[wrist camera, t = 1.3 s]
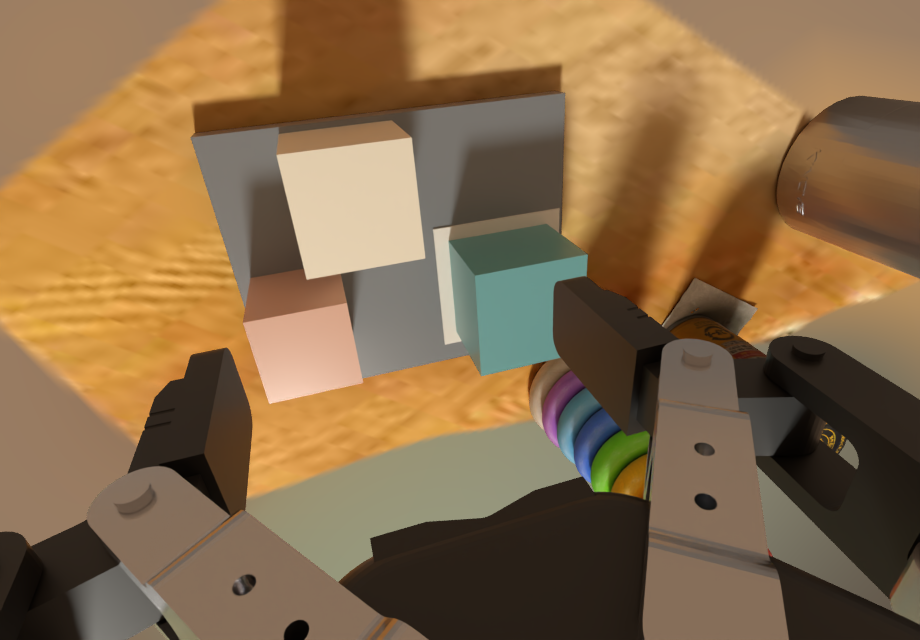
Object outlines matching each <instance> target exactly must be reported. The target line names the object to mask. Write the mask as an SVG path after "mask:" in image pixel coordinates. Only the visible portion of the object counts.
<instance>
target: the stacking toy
mask: <svg viewBox="0 0 920 640" xmlns="http://www.w3.org/2000/svg"><path fill="white" fill-rule="evenodd" d="M529 406H530V410H531V414H532V416H533V418H534V420H535V421H536V423H537V424H538V425H539V426H540V427H541V428H542V429H543V430H545V432H546V434H547V436H548V438H549V439H550V440H551V441H552V442H553V443H554V444H555V445H556V446H557V447H559V448H560V449H561V451H562V452H563V454H564V455H565V456H566V458H568V459H569V460H570V461H571V462H573V463H574V464H576V467H577V469H578V471H579V473H580V474H581V476H583V477H584V479H585V480H587V481H588V482H590V483H591V484H592V487H593V489H594V491H595V492H614V493H622V494H627V495H631V496H635V497H639V498H642V499H643V493H644V483H645V473H646V463H647V453H648V444H649V438H650V435H649V433H648V432H647V431H644V432H640V433H637V434H633V435H630V436H626V435H625V433H624V432H623V431H622V430H621V429H620V427H619V426H618V425H617V424H616V423H615V422H614V420H613V419H612V418H611V417H610V416H609V414H608V413H607V412H606V411H605V410H604V408H603V407H602V406H601V405H600V404H599V403H598V401H597V400H596V399H595V398H594V397H593V395H592V394H591V393H590V392H589V391H588V389H587V388H586V387H585V386H584V385H583V384H582V382H581V381H580V380H579V379H578V378H577V376H576V375H575V374H574V373H573V372H572V371H571V369H570V368H569V367H568V366H567V365H566V363H565V362H564V361H563V360H562V359H561V358H557V359H553V360H549V361H547V362H546V363H545V364H544V365H543V366H542V367H541V368H540V370H539V371H538V373H537V374H536V376H535V378H534V380H533V382H532V385H531V388H530V393H529ZM768 554H769V555H770V556H772V554H771V552H770V551H769V549H768ZM772 557H773V556H772Z"/></svg>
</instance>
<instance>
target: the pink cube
mask: <svg viewBox="0 0 920 640" xmlns="http://www.w3.org/2000/svg"><path fill="white" fill-rule="evenodd" d="M243 324H244V327H245V330H246V333H247V337H248V340H249V343H250V346H251V349H252V352H253V355H254V358H255V361H256V364H257V367H258V370H259V373H260V376H261V379H262V383H263V386H264V389H265V392H266V395H267V398H268V401H269V404H271V403H275V402H279V401H284V400H288V399H293V398H297V397H302V396H306V395H311V394H315V393H320V392H324V391H329V390H333V389H338V388H342V387H347V386H351V385H356V384H360V383H363V379H362V374H361V370H360V365H359V360H358V355H357V350H356V345H355V340H354V335H353V331H352V326H351V321H350V316H349V311H348V306H347V301H346V297H345V292H344V287H343V282H342V278H341V274H336V275H330V276H325V277H319V278H314V279H308V280H307V279H306V275H305V271H304V269H299V270H294V271H288V272H282V273H276V274H271V275H265V276H259V277H254V278H250V283H249V289H248V295H247V301H246V307H245V314H244V320H243Z"/></svg>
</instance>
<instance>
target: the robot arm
mask: <svg viewBox="0 0 920 640" xmlns="http://www.w3.org/2000/svg"><path fill="white" fill-rule="evenodd" d="M777 205H778V208H779V212H780V215H781V216H782V218H783V220H784V221H785V223H787V224H788V225H789V226H790V227H792V228H793V229H796V230H798V231H801V232H803V233H806V234H808V235H811V236H814V237H816V238H819V239H821V240H824V241H826V242H829V243H831V244H834V245H836V246H839V247H841V248H843V249H846V250H848V251H851V252H853V253H856V254H858V255H861V256H864V257H866V258H869V259H871V260H874V261H876V262H879V263H881V264H884V265H887V266H889V267H892V268H894V269H897V270H899V271H902V272H904V273H907V274H910V275H912V276H915V277H917V278H920V102H911V101H903V100H894V99H885V98H876V97H867V96H856V97H849V98H846V99H844V100H841V101H838V102H836V103H834V104H833V105H831V106H829V107H828V108H826V109H825V110H823V111H822V112H821V113H820V114H818V115H817V116H816V117H815V118H814V119H813V120H812V121H811V122H810V123H809V124H808V125H807V126H806V127H805V128H804V130H803V131H802V132H801V133H800V134H799V136H798V137H797V139H796V140H795V142H794V143H793V145H792V146H791V148H790V150H789V152H788V154H787V156H786V158H785V160H784V162H783V165H782V169H781V172H780V175H779V179H778V185H777ZM553 341H554V345H555V348H556V351H557V353H558V355H559V356H560V357H561V359H562V360H563V361H564V362H565V363H566V365H567V366H568V367H569V368H570V369H571V371H572V372H573V373H574V374H575V375H576V376H577V378H578V379H579V380H580V381H581V382H582V384H583V385H584V386H585V387H586V388H587V389H588V391H589V392H590V393H591V394H592V395H593V397H594V398H595V399H596V400H597V401H598V403H599V404H600V405H601V406H602V407H603V408H604V410H605V411H606V412H607V413H608V414H609V416H610V417H611V418H612V419H613V420H614V422H615V423H616V424H617V425H618V426H619V427H620V429H621V430H622V431H623V432H624V433H625V435H626V436H630V435H633V434H637V433H640V432H644V431H647V432H648V433H649V435H650V438H649V444H648V453H647V463H646V473H645V483H644V493H643V499H642V498H639V497H635V496H631V495H627V494H622V493H614V492H593V491H592V489H591V488H590V486H589V485H588V483H587V482H586V480H585V479H584V477H583V476H582V477H579V478H576V479H572V480H569V481H565V482H562V483H558V484H555V485H552V486H548V487H545V488H541V489H538V490H535V491H533V492H531V493H529V494H527V495H526V496H524V497H522V498H520V499H519V500H517V501H515V502H513V503H511V504H510V505H508V506H506V507H504V508H503V509H501V510H499V511H497V512H496V513H494V514H492V515H490V516H488V517H485V518H477V519H463V520H449V521H433V522H425V523H421V524H418V525H414V526H411V527H407V528H404V529H400V530H397V531H394V532H390V533H387V534H383V535H380V536H376V537H373V538H371V539H370V540H371V546H372V552H373V557H371V558H370V559H368V560H366V561H364V562H363V563H361V564H360V565H359V566H357V567H356V568H354V569H353V570H351V571H350V572H349V573H348V574H347V575H346V576H344V577H343V578H342V579H341V580H340V581H339V582H337V581H336V580H334V579H333V578H332V577H331V576H329V575H328V574H327V573H325V572H324V571H323V570H321V569H320V568H319V567H318V566H316V565H315V564H314V563H312V562H311V561H310V560H308V559H307V558H306V557H304V556H303V555H302V554H301V553H300V552H298V551H297V550H296V549H294V548H293V547H292V546H290V545H289V544H288V543H287V542H285V541H284V540H283V539H281V538H280V537H279V536H278V535H276V534H275V533H274V532H272V531H271V530H270V529H268V528H267V527H266V526H265V525H263V524H262V523H261V522H259V521H258V520H257V519H256V518H254V517H253V516H252V515H250V514H249V513H247V512H246V511H245V507H246V496H247V485H248V473H249V461H250V450H251V438H252V416H251V410H250V406H249V402H248V399H247V396H246V394H245V391H244V388H243V385H242V382H241V379H240V377H239V374H238V371H237V368H236V365H235V362H234V360H233V357H232V354H231V352H230V351H229V349H228V348H222V349H217V350H212V351H207V352H202V353H197V354H193V355H191V357H190V360H189V363H188V366H187V370H186V373H185V377H184V379H179V380H174V381H170V382H169V383H168V384H167V385H166V386H165V387H164V389H163V390H162V391H161V392H160V393H159V394H158V395H157V396H156V397H155V399H154V402H153V404H152V407H151V410H150V413H149V415H150V417H148V418H147V421H146V424H145V427H144V428H145V430H144V431H143V432H142V435H141V438H140V441H139V443H138V446H137V449H136V452H135V454H134V457H133V460H132V463H131V465H130V469H129V471H128V474H127V475H124V476H122V477H121V478H119V479H117V480H116V481H114V482H113V483H111V484H110V485H108V486H107V487H106V488H105V489H104V490H102V491H101V492H100V493H99V494H98V496H97V497H96V498H95V499H94V501H93V502H92V504H91V506H90V507H89V510H88V513H87V520H85V521H84V522H82V523H80V524H78V525H76V526H74V527H72V528H70V529H68V530H65V531H63V532H61V533H59V534H57V535H54V536H52V537H50V538H48V539H46V540H44V541H42V542H40V543H37V544H35V545H33V546H30V545H29V543H28V542H27V541H26V540H25V538H24V537H23V536H22V535H20V534H18V533H15V532H0V640H127V639H129V638H131V637H133V636H134V635H136V634H138V633H139V632H141V631H143V630H145V629H146V628H148V627H150V626H151V625H153V624H154V626H155V627H156V628H157V629H158V631H159V632H160V633H161V634H162V635H163V636H164V638H165V639H166V640H920V400H919V399H917V398H916V397H914V396H913V395H911V394H910V393H908V392H906V391H905V390H903V389H902V388H900V387H898V386H897V385H895V384H894V383H892V382H890V381H889V380H887V379H885V378H884V377H882V376H881V375H879V374H878V373H876V372H874V371H873V370H871V369H869V368H868V367H866V366H864V365H863V364H861V363H860V362H858V361H857V360H855V359H853V358H852V357H850V356H849V355H847V354H845V353H844V352H842V351H841V350H839V349H837V348H836V347H834V346H832V345H830V344H828V343H826V342H823V341H820V340H817V339H813V338H809V337H802V336H784V337H780V338H777V339H775V340H773V341H772V342H771V343H770V345H769V349H768V352H767V356H766V358H749V359H733V358H732V356H731V354H730V353H729V352H728V351H727V350H725V349H724V348H722V347H721V346H719V345H716V344H714V343H711V342H708V341H704V340H699V339H678V338H677V337H676V336H675V335H673V334H672V333H671V332H669V331H668V330H667V329H666V328H664V327H663V326H662V325H660V324H659V323H658V322H657V321H655V320H654V319H653V318H651V317H648V314H646V313H645V312H644V311H643V310H641V309H638V307H637V306H636V305H635V304H634V303H632V302H631V301H630V300H628V299H627V298H626V297H624V296H621V295H619V294H616V293H614V292H611V291H609V290H605V291H604V290H602V289H601V288H600V287H599V286H598V285H596V284H595V283H594V282H593V281H591V280H590V279H589V278H588V277H586V276H581V277H576V278H571V279H566V280H561V281H557V282H556V283H555V286H554V291H553ZM826 423H827V424H829V425H830V426H831V427H832V428H834V429H835V430H836V431H837V432H839V433H840V434H841V435H843V436H844V437H845V438H846V439H848V440H849V441H850V442H851V444H852V445H853V446H854V448H855V450H856V451H857V454H858V457H859V465H858V469H855V468H854V467H853V466H852V465H850V464H849V463H848V462H847V461H846V460H844V459H843V458H842V457H841V456H840V455H838V454H837V453H836V452H835V451H834V450H832V449H831V448H830V447H829V446H828V445H826V444H825V443H824V442H823V441H822V440H820V437H821V435H822V432H823V429H824V427H825V424H826ZM756 465H757V466H758V467H759V468H760V469H761V470H762V471H763V472H764V473H765V474H766V475H767V476H768V477H769V478H770V479H771V480H772V481H773V482H774V483H775V484H776V485H777V486H778V487H779V488H780V489H781V490H782V491H783V492H784V493H785V494H786V495H787V496H788V497H789V498H790V499H791V500H792V501H793V502H794V503H795V504H796V505H797V506H798V507H799V508H800V509H801V510H802V511H803V512H804V513H805V514H806V515H807V516H808V517H809V518H810V519H811V520H812V521H813V522H814V523H815V525H817V526H818V528H820V530H821V531H822V532H824V534H825V535H826V536H827V537H828V538H829V539H831V541H832V542H833V543H835V545H836V546H837V547H838V548H839V549H840V550H841V551H842V552H843V553H844V554H845V555H846V556H847V557H848V558H849V559H850V560H851V561H852V562H853V563H854V564H855V565H856V566H857V567H858V568H859V569H860V570H861V571H862V572H863V573H864V574H865V575H866V576H867V577H868V578H869V579H870V580H871V581H872V582H873V583H874V584H875V585H876V586H877V587H878V588H879V589H880V590H881V591H882V592H883V593H884V594H885V595H886V596H887V597H888V598H889V599H890V602H891V606H892V609H893V611H894V612H893V611H890V610H888V609H886V608H884V607H882V606H879V605H877V604H875V603H873V602H870V601H868V600H866V599H864V598H862V597H860V596H857V595H855V594H853V593H851V592H849V591H846V590H844V589H842V588H840V587H838V586H835V585H833V584H831V583H829V582H826V581H825V580H822V579H820V578H818V577H816V576H813V575H811V574H809V573H807V572H805V571H803V570H800V569H798V568H796V567H794V566H792V565H789V564H787V563H785V562H782V561H780V560H778V559H776V558H774V557H772V556H770V555H769V554H768V548H767V540H766V533H765V525H764V518H763V510H762V503H761V496H760V488H759V481H758V474H757V467H756Z"/></svg>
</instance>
